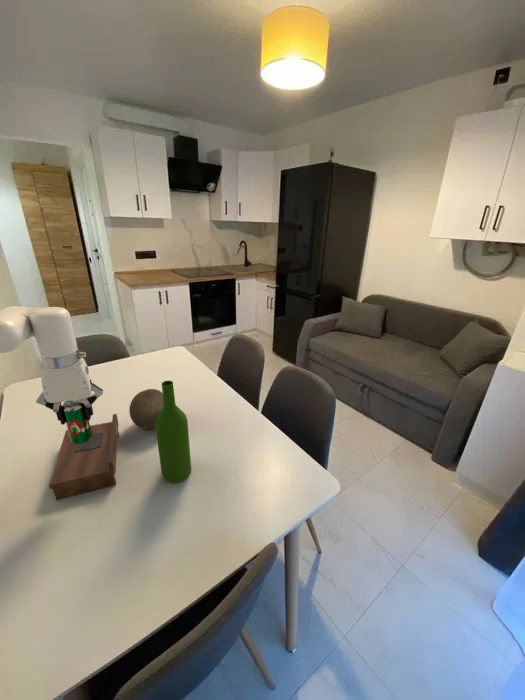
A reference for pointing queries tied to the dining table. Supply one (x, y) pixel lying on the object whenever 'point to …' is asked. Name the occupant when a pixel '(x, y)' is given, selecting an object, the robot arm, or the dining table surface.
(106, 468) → the brown wooden box
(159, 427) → the wine bottle
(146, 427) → the cantaloupe
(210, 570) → the dining table surface
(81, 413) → the soda can
